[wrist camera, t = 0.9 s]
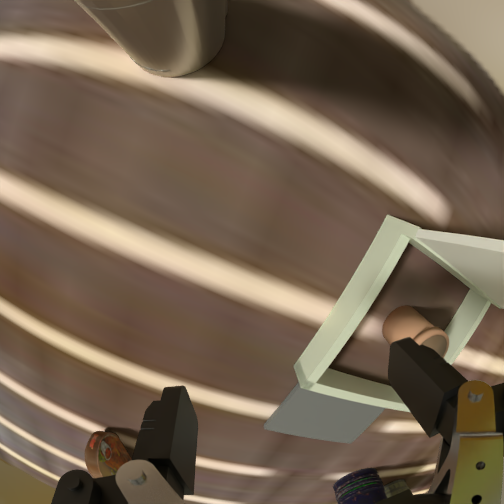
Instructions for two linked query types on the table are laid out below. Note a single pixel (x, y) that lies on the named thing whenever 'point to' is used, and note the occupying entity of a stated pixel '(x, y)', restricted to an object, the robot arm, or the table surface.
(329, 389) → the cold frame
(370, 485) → the storage jar
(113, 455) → the tin
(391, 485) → the thermos
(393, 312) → the pot
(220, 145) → the table surface
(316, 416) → the slate mat
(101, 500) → the robot arm
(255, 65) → the table surface
